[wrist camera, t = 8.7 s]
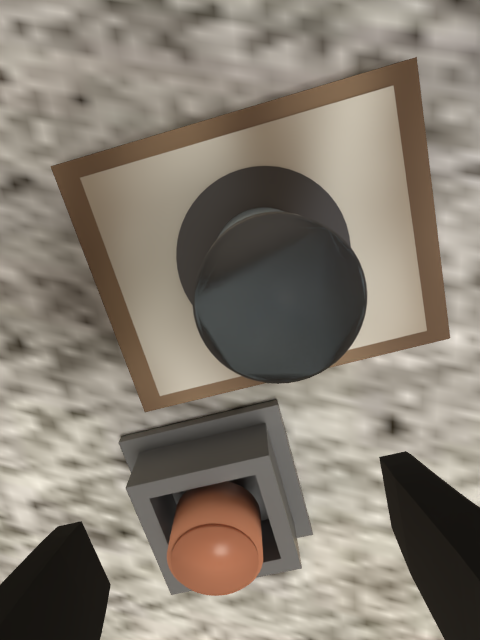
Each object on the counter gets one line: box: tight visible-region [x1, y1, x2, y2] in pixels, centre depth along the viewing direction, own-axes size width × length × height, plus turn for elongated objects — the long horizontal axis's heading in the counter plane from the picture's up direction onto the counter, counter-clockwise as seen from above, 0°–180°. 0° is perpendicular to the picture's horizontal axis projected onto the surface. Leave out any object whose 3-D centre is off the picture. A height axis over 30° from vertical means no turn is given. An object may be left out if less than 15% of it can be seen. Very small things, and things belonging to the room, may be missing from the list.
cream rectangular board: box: [51, 57, 450, 412], centre depth 17 cm, size 14×11×1 cm
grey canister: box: [192, 207, 367, 384], centre depth 13 cm, size 4×4×7 cm
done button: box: [167, 481, 263, 596], centre depth 18 cm, size 4×4×2 cm
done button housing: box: [119, 400, 313, 595], centre depth 19 cm, size 8×8×3 cm
